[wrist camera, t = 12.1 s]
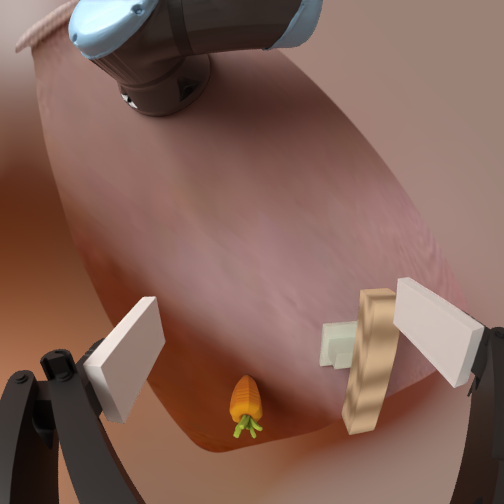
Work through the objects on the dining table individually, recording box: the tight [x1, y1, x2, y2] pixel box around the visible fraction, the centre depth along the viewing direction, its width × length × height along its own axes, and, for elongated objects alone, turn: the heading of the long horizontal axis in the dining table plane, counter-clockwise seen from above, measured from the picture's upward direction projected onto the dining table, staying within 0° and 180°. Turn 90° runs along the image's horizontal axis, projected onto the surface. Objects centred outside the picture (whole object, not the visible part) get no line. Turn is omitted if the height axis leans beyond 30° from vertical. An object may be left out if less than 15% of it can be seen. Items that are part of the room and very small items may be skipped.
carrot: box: [230, 375, 262, 438], centre depth 40 cm, size 5×5×15 cm
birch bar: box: [342, 288, 400, 435], centre depth 38 cm, size 24×4×6 cm, turn 1°
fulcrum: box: [320, 321, 357, 369], centre depth 43 cm, size 8×12×6 cm, turn 91°
